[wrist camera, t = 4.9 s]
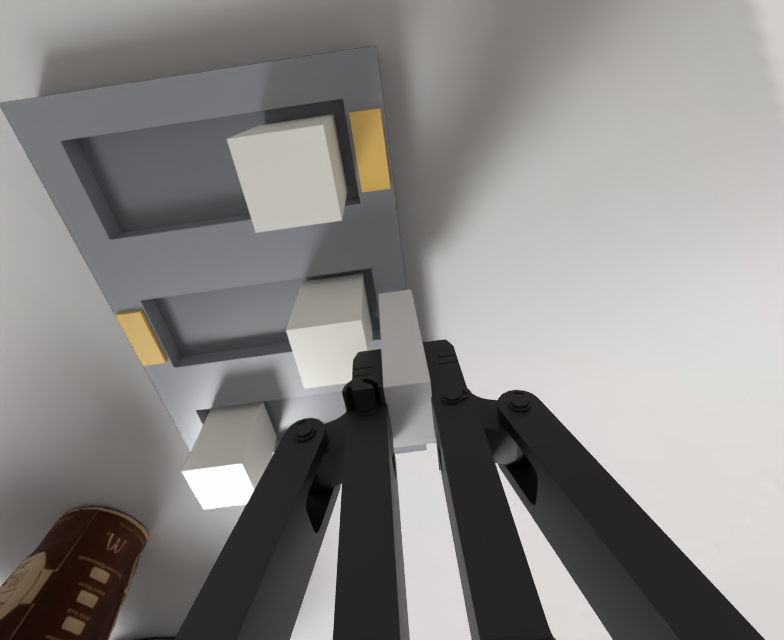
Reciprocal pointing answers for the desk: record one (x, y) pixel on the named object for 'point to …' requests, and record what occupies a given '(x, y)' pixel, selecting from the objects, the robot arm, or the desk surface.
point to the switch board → (216, 223)
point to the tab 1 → (230, 455)
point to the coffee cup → (73, 578)
